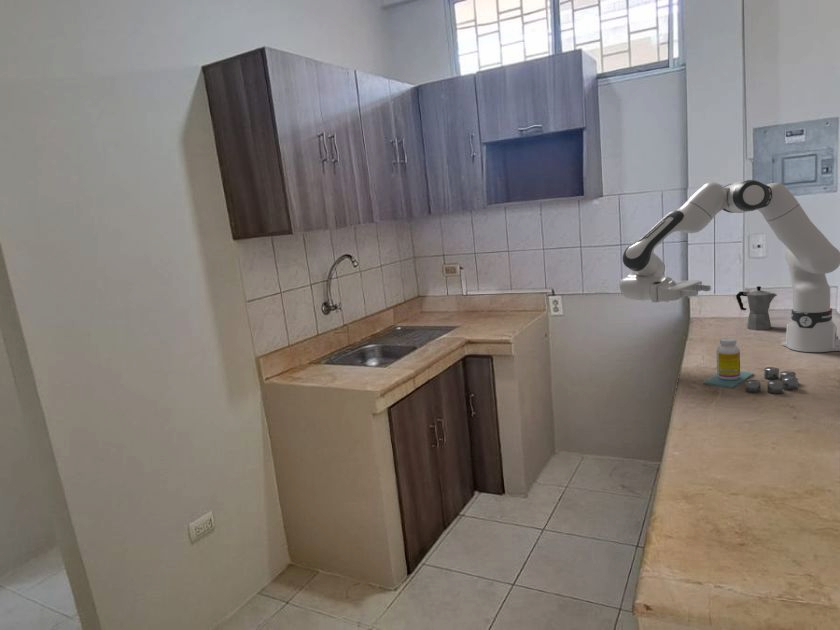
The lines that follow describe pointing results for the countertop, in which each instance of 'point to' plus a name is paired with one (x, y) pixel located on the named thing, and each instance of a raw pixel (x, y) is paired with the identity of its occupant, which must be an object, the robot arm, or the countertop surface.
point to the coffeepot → (757, 308)
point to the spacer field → (774, 382)
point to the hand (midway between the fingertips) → (703, 290)
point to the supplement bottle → (728, 359)
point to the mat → (728, 383)
